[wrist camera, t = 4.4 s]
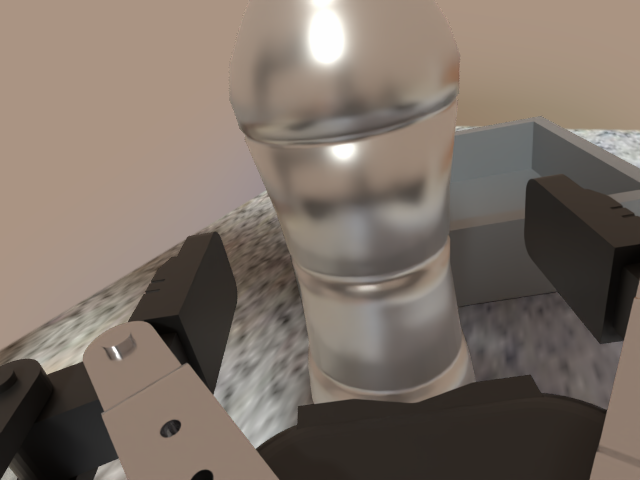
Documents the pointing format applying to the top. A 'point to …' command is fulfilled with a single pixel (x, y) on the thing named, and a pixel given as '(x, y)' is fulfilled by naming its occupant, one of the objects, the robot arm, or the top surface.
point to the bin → (516, 201)
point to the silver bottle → (360, 184)
